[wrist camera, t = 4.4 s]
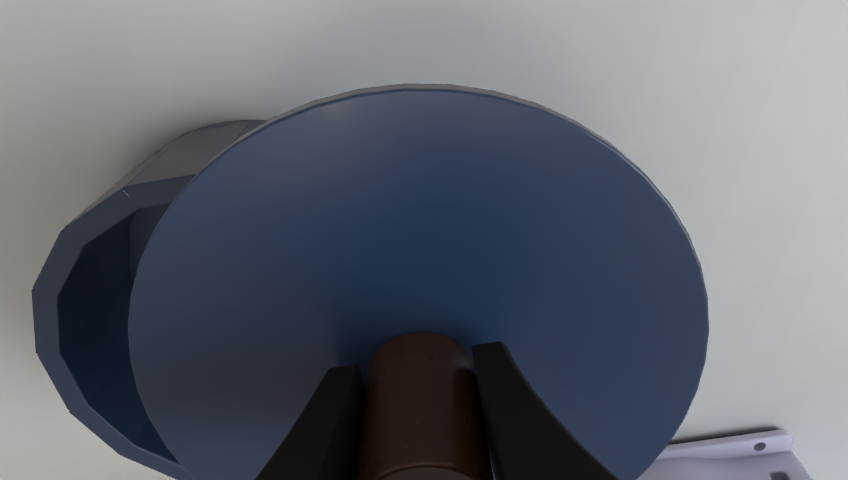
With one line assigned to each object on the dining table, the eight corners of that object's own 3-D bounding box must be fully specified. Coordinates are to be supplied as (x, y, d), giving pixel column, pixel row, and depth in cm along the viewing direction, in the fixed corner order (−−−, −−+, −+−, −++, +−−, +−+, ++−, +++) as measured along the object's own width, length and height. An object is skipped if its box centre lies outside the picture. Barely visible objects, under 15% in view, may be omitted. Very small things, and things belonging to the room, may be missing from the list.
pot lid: (694, 19, 11) (870, 67, 7) (684, 492, 16) (779, 681, 12) (49, 139, 12) (-151, 251, 8) (244, 555, 17) (192, 754, 13)
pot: (388, 92, 20) (382, 142, 15) (441, 362, 25) (449, 465, 20) (63, 150, 21) (-44, 215, 16) (178, 402, 26) (124, 511, 21)
